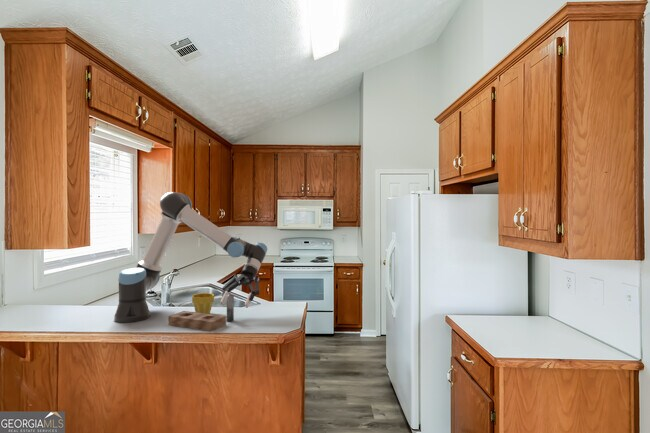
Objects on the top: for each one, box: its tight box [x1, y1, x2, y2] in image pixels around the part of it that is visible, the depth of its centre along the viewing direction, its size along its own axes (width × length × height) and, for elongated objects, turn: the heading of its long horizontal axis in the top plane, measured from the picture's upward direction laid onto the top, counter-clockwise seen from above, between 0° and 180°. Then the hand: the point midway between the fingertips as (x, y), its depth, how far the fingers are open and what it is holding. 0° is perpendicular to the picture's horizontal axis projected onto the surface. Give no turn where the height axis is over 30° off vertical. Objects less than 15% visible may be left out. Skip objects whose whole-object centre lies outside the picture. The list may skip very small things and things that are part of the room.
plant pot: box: [191, 292, 215, 314], centre depth 185 cm, size 10×10×10 cm
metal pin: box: [226, 294, 235, 323], centre depth 175 cm, size 3×3×12 cm
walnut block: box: [167, 310, 227, 332], centre depth 168 cm, size 24×10×4 cm, turn 69°
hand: (233, 304), depth 176 cm, fingers open, 13 cm apart
